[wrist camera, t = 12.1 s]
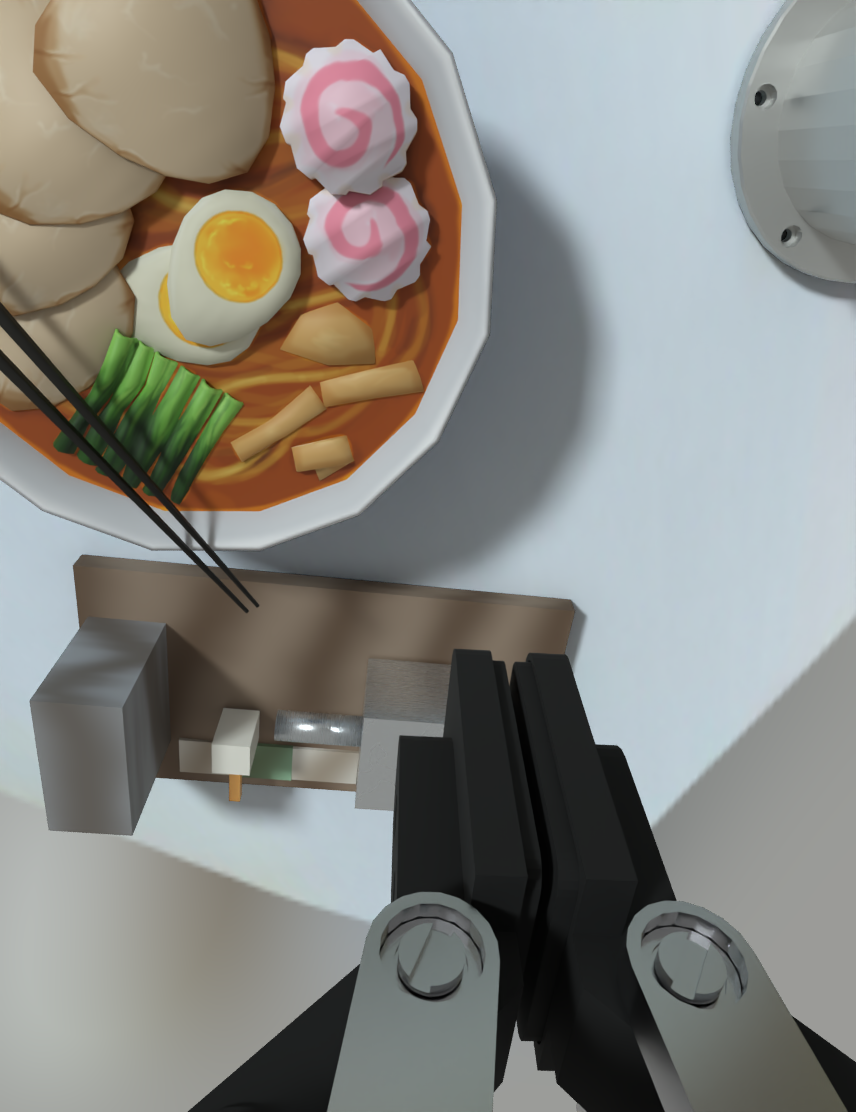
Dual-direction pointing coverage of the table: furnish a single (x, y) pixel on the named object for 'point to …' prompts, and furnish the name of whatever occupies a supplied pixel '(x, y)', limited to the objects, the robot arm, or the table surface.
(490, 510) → the table surface
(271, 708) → the bench
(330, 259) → the ramen bowl
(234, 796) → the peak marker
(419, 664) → the gauge plunger
